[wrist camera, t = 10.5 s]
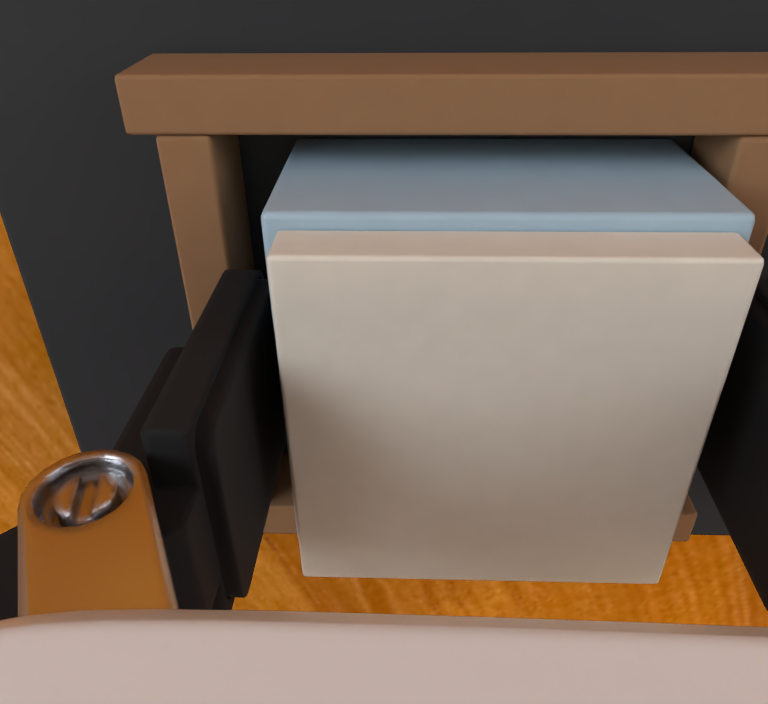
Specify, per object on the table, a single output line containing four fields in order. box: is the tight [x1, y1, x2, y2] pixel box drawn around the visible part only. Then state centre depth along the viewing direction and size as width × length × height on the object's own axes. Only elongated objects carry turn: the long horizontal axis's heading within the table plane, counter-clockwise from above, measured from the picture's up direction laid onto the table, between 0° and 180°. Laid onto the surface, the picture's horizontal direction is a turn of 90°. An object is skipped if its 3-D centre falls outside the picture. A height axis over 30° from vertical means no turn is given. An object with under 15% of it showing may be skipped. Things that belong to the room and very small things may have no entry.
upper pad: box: [261, 139, 764, 584], centre depth 11 cm, size 6×6×4 cm
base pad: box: [0, 0, 768, 541], centre depth 12 cm, size 16×12×3 cm
